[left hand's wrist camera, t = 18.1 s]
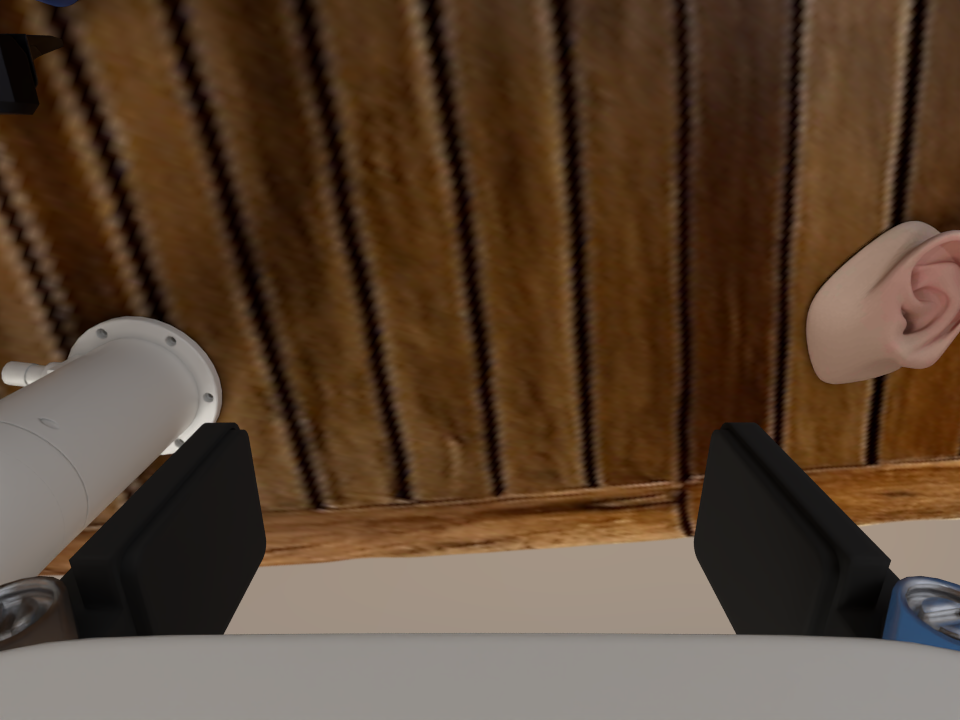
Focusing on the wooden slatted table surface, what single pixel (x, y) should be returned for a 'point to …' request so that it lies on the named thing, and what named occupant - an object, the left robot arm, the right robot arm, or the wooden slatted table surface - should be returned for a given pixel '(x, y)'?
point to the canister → (59, 2)
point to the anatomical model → (888, 306)
